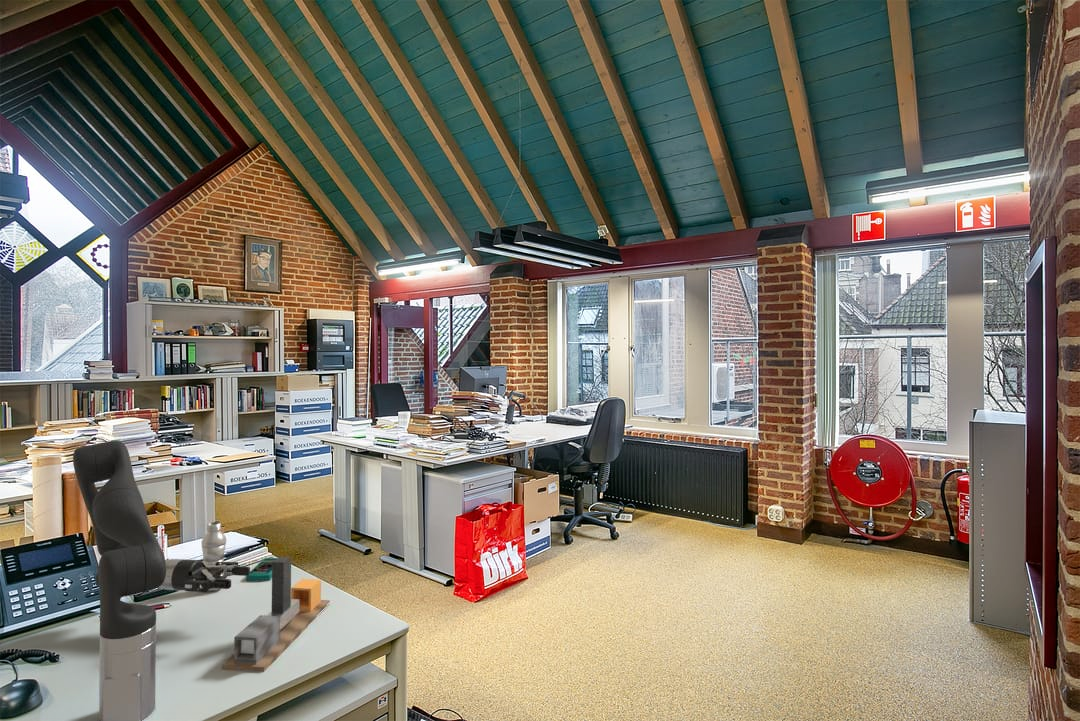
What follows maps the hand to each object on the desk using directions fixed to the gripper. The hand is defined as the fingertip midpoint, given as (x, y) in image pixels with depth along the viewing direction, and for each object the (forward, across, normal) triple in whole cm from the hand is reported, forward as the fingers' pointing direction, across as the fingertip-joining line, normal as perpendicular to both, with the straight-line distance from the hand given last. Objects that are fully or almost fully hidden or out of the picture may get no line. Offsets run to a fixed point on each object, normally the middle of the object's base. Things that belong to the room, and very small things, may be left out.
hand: (240, 577), depth 153 cm
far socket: (+11, +14, +13) cm, 22 cm away
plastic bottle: (-22, +24, +14) cm, 36 cm away
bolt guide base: (+11, 0, +14) cm, 18 cm away
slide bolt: (+11, -4, +11) cm, 16 cm away
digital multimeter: (-14, +39, +15) cm, 44 cm away
